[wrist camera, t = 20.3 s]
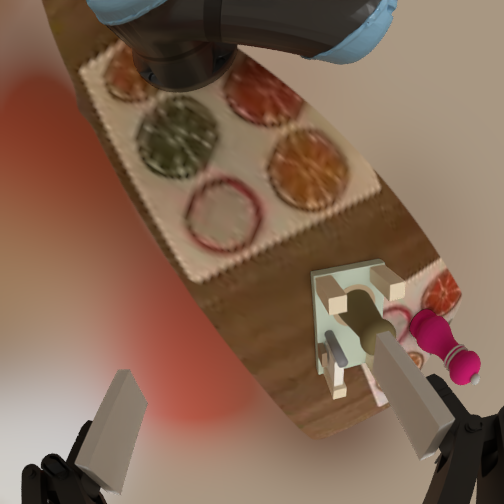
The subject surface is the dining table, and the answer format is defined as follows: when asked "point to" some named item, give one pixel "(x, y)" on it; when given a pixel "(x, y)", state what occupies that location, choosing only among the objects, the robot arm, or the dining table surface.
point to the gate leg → (334, 375)
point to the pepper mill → (445, 347)
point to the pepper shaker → (365, 319)
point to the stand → (335, 301)
